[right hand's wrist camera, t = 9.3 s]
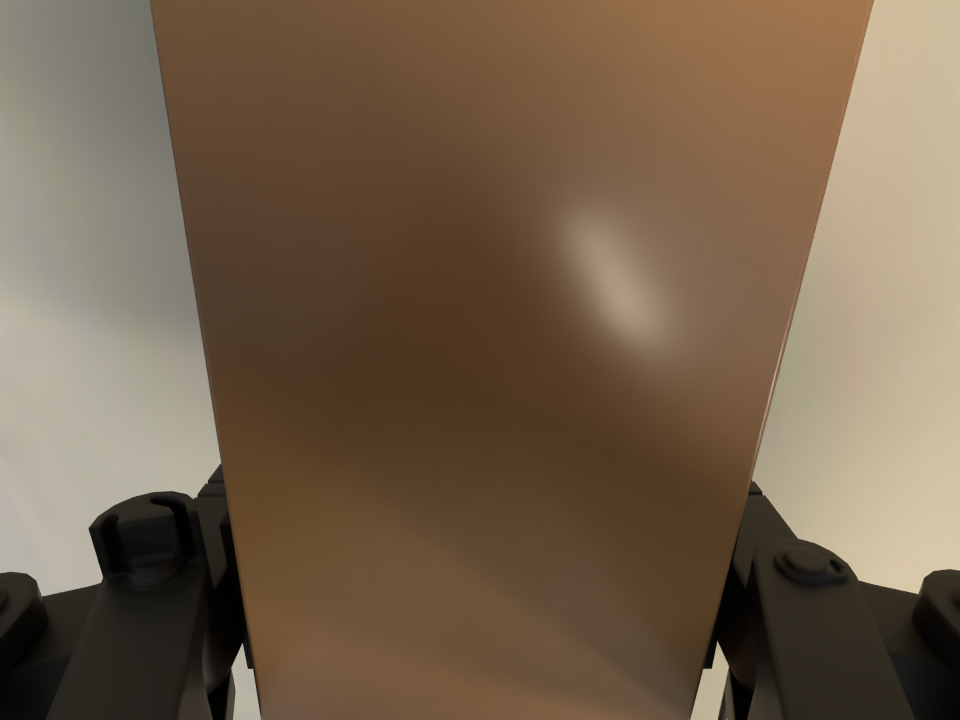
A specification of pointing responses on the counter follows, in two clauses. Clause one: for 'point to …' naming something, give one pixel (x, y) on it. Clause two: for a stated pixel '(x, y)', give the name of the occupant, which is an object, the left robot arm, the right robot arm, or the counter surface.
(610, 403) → the beam
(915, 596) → the right robot arm
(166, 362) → the counter surface
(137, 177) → the counter surface
